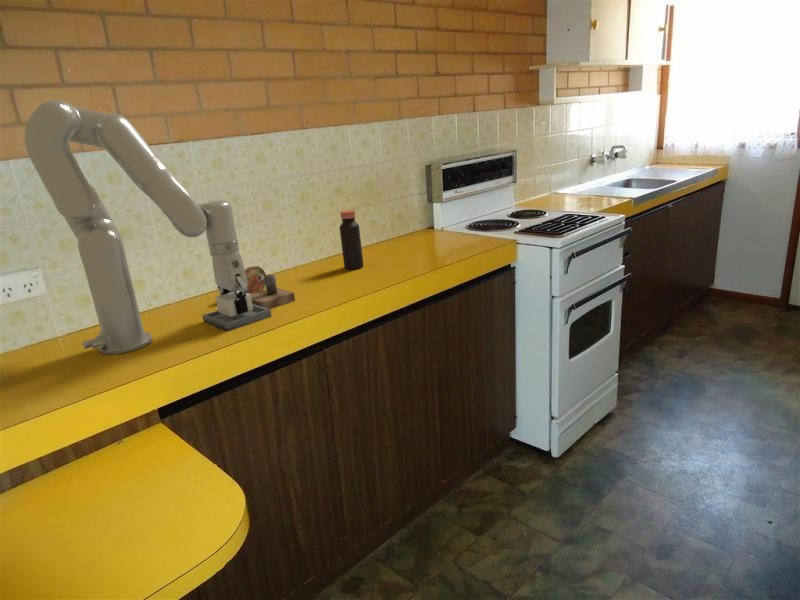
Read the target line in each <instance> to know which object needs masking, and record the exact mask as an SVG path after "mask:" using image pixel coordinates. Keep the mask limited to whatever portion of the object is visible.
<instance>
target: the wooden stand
mask: <svg viewBox="0 0 800 600" xmlns="http://www.w3.org/2000/svg"><path fill="white" fill-rule="evenodd" d="M264 277H265V283H266V285H265V288H266V289H263V290H262V291H260V292H257V293H253V294H251V300H252V304H255V305H258V306H261V307H264V308H267V309H270V310H272V309H274V308H276V307H279V306H283V305H286V304H289V303H291V302H292V303H293V302H294V301H296V299H295V298H296V297H295V292H294V291H291V290H290V291H289V290H286V289H282V288H278V287H277V281H276V275H275V274H273V273H272V274H271V273H269V274H266V276H264Z"/></svg>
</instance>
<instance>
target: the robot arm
mask: <svg viewBox="0 0 800 600" xmlns="http://www.w3.org/2000/svg"><path fill="white" fill-rule="evenodd" d="M70 142H71V143H76V144H81V145H85V146H91V147H96V148H100V149H105V151H107V153H108V154H109V155H110V156H111V158H112V159H113V160H114V161H115V162H116V164H118V165H119V167H120V168H121V169H122V170H123V171H124V173H125V175H127V176H128V177H129V179H130V180H131V181H132V182H133V184H135V186H137V187H138V189H139V190H140V191H141V192H143V194H145V195H146V196H147V197H148V198H149V199H150V200H151V201H152V202H153V203H154V204H155V205H156V206H157V208H159V209H160V211H161V212H162V213H163V215H164V216H165V217H166V218H167V219H168V220H169V221H170V222H171V225H172V226H173V228H174V229H175V230H177V231H178V232H179V233H180V234H181V235H182V236H184V237H188V238H197V237H199V236H201V235H203V233H206V234H205V235H206V240H207V245H208V249H209V250H208V251H209V254H210V256H211V261H212V268H213V269H212V270H213V276H214V282H215V285H216V286H217V289H218V291H219V293H218V294H219V296H220V295H224V294H227V293H230V291H232V292H233V294H234V297H235V299H236V300H235V301H234V302H235V307H236V312H237V314H238V315H239V314H242V313H245V312H248V307H247V302H246V294H247V289H248V288H247V286H248V282H247V277H246V273H245V269H246V268H245V265H244V261H243V259H242V255H241V254H240V249H239V248H240V247H239V242H238V236H237V232H236V226H235V220H234V215H233V210H232V205H231V203H230V202H229V201H228V200H214V201H209V202H205V203H196V201H194V199H193V198H192V197H191V196H190V195H189V193H188V192H187V190H186V189H185V188H184V187H183V186H182V184H181V183H180V182H179V181H178V180H177V179H176V177H175V176H174V175H173V173H172V172H171V170H170V169H169V168H168V167H167V165H166V164H165V163H164V162H163V161H162V159H161V158H160V157H159V155H157V153H156V152H155V151H154V149H153V148H152V147H151V146H150V144H149V143H148V142H147V141H146V139H144V137H143V136H142V134H141V133H140V132H139V131H138V129H136V127H135V126H134V124H132V123H131V121H129V120H128V119H127V117H125V116H123V115H121V114H118V113H104V112H100V111H95V110H91V109H87V108H83V107H80V106H75V105H71V104H70V103H69V102H67V101H64V100H61V99H48V100H46V101H44V102H42V103H40V104H39V105H38V106H37V107H36V108H35V109H34V110H33V112H32V113H31V114H30V116H29V118H27V121H26V123H25V127H24V145H25V149H26V152H27V155H28V157H29V160H30V161H31V164H32V165H33V167H34V169H35V171H36V172H37V174H38V176H39V178H40V180H41V182H42V184H43V185H44V187H45V189H46V191H47V192H48V194H49V196H50V198H51V199H52V201H53V204H54V206H55V208H56V210H57V212H58V213H59V214H60V215H61V216H62V217H64V219H65V221H66V223H67V224H68V226H69V228H70V230H71V231H72V232H73V234H74V236H75V237H76V239H77V248H78V251H79V252H78V253H79V257H80V259H81V263H82V265H83V269H84V273H85V276H86V279H87V283H88V287H89V291H90V294H91V298H92V301H93V306H94V310H95V312H96V316H97V320H98V324H99V327H100V331H99V332H97V334H98V335H97V336H96V335H95V338H92V339H88V340H84V341H82V343H81V344H82V346H83V349H84V350H86V349H90V348H92V350H93V349H96V348H98V351H99V352H100V353H101V354H104V355H119V354H124V353H129V352H133V351H136V350H138V349H141V348H143V347H145V346H147V345H149V344H150V343H151V342H152V341H153V336H152V334H151V332H146V331H144V326H143V322H142V318H141V313H140V311H139V306H138V305H139V304H138V301H137V297H136V293H135V290H134V285H133V282H132V278H131V273H130V268H129V265H128V260H127V256H126V252H125V245H124V242H123V238H122V236H121V234H120V232H119V230H118V228H117V226H116V225H115V222H114V221H113V220H112V217H111V215H110V214H109V212H108V210H107V208H106V207H105V204H104V203H103V201H102V199H101V197H100V195H99V193H98V192H97V190H96V189H95V187H93V185H92V184H91V183H89V181H88V179H87V178H86V177H85V174H84V172H83V170H82V168H80V166H79V163H78V161H77V159H76V157H75V156H74V154H73V152H72V149H71V146H70ZM237 286H239V288H236V289H235V287H237ZM239 290H240V292H239V293H238V294H237V292H236V291H239Z"/></svg>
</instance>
